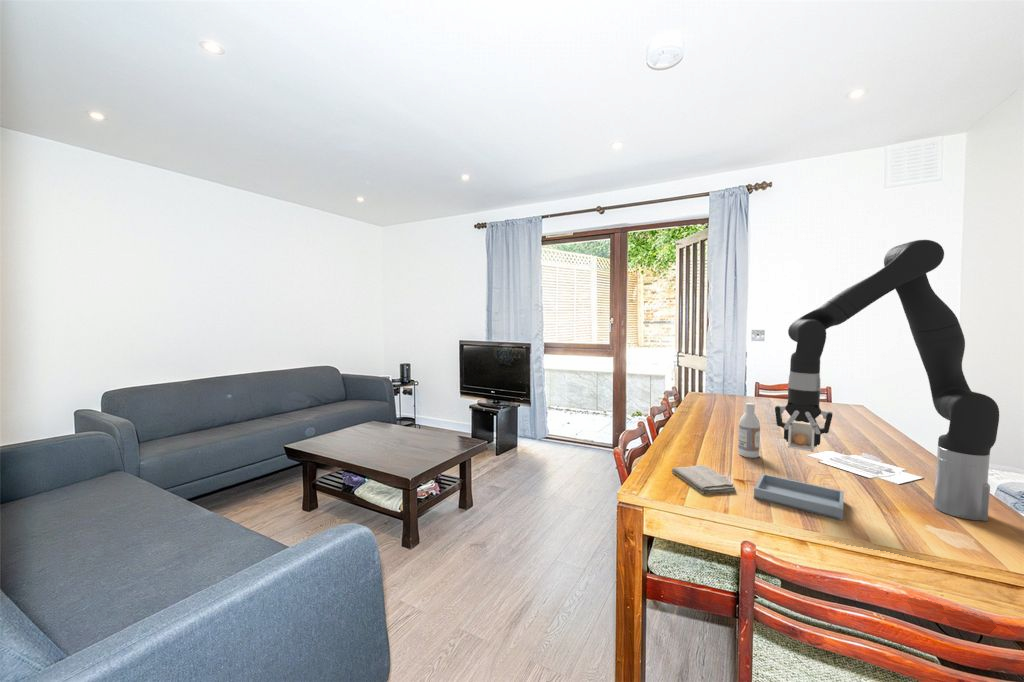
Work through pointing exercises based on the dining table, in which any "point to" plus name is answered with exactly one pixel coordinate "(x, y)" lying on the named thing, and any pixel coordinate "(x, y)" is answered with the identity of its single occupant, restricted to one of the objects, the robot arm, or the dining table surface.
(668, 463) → the dining table surface
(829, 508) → the tray
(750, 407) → the bath foam
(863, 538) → the dining table surface
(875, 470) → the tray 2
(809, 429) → the white cube stool
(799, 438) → the ball
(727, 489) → the washcloth
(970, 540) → the dining table surface
